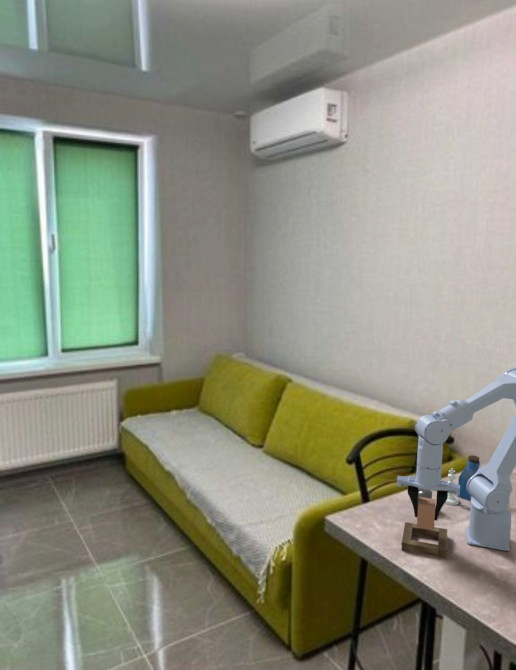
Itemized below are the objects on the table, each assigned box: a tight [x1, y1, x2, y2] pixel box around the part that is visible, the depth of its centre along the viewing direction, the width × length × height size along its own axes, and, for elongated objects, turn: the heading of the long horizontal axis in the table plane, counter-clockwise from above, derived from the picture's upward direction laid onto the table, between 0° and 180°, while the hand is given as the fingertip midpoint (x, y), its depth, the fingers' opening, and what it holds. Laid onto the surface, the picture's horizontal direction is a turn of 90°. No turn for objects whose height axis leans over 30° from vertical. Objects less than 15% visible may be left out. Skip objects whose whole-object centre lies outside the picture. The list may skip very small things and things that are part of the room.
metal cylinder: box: [418, 488, 433, 501], centre depth 147 cm, size 4×4×5 cm
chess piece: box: [444, 467, 460, 506], centre depth 151 cm, size 5×5×10 cm
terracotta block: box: [416, 497, 437, 530], centre depth 128 cm, size 4×4×6 cm
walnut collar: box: [400, 521, 448, 559], centre depth 129 cm, size 10×10×2 cm
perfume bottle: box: [457, 455, 482, 501], centre depth 154 cm, size 6×6×12 cm
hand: (426, 516), depth 128 cm, fingers closed on terracotta block, 4 cm apart
